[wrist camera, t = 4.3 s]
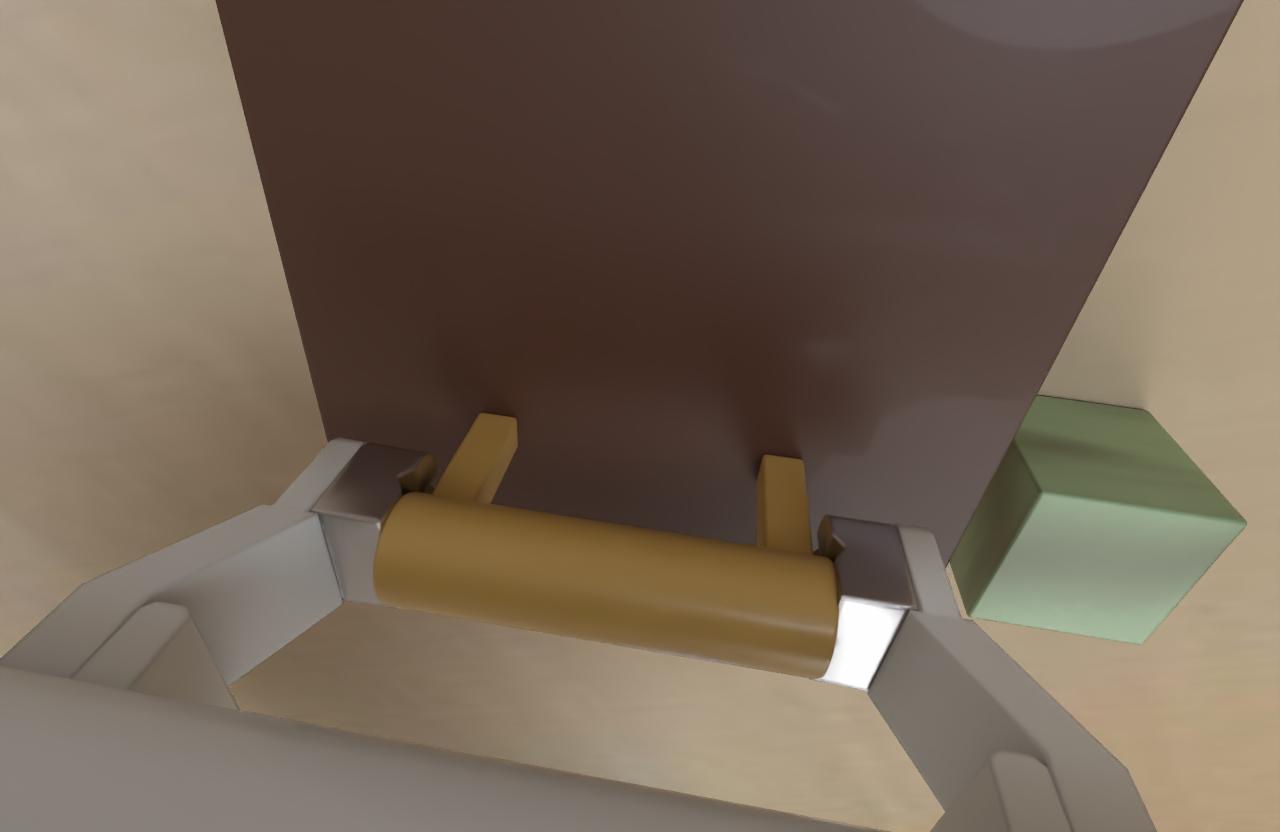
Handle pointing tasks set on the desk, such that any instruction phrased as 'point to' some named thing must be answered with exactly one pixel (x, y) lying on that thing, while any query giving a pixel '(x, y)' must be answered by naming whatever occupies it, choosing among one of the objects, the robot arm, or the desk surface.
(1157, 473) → the block
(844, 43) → the box lid
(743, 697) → the desk surface
